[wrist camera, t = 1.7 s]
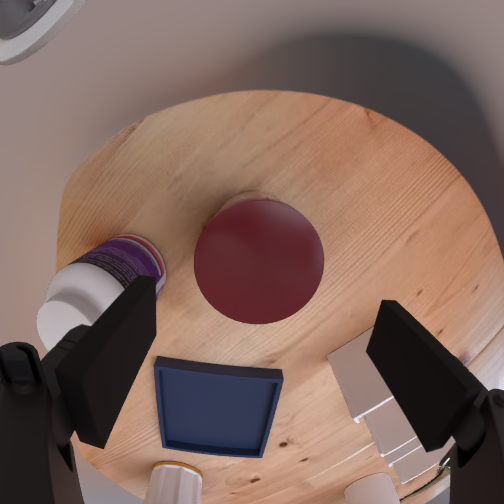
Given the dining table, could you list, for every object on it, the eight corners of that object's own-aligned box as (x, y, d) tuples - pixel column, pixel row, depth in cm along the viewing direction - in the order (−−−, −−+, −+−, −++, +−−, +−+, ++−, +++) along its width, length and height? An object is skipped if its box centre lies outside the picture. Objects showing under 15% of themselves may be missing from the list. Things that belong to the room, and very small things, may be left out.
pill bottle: (99, 230, 28) (13, 273, 15) (168, 234, 29) (109, 287, 15) (104, 299, 31) (38, 370, 17) (169, 306, 31) (126, 394, 17)
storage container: (434, 405, 38) (462, 445, 27) (382, 439, 39) (402, 484, 29) (401, 307, 32) (449, 354, 21) (326, 355, 33) (353, 418, 23)
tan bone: (458, 461, 48) (461, 465, 46) (409, 499, 53) (411, 504, 51) (443, 464, 46) (447, 469, 44) (392, 504, 51) (394, 509, 49)
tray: (157, 355, 33) (153, 365, 31) (281, 369, 34) (283, 379, 32) (164, 438, 37) (162, 447, 35) (261, 448, 38) (262, 458, 36)
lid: (203, 189, 19) (199, 191, 17) (326, 205, 19) (335, 208, 18) (194, 305, 21) (190, 317, 19) (305, 316, 22) (310, 328, 20)
